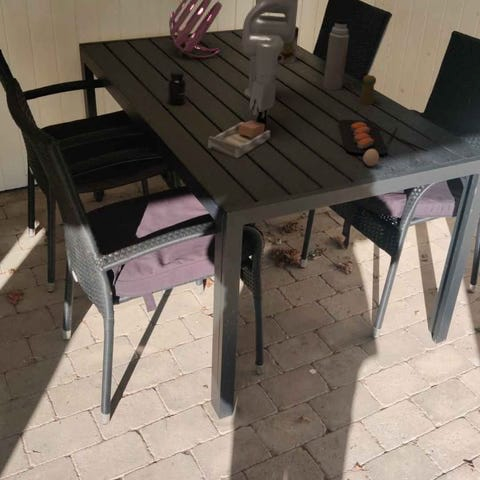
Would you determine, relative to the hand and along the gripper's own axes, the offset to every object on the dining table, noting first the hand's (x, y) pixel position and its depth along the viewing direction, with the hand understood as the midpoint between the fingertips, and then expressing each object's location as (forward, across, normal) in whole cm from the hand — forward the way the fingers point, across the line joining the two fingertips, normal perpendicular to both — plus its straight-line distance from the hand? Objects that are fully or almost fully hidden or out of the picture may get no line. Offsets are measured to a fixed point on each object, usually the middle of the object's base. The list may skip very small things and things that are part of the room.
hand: (261, 126), depth 240 cm
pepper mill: (+2, -53, +17) cm, 56 cm away
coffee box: (+2, -76, -35) cm, 83 cm away
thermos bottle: (+2, -60, -2) cm, 61 cm away
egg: (+2, 0, +43) cm, 43 cm away
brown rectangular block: (+1, +6, 0) cm, 7 cm away
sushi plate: (+3, -22, +38) cm, 44 cm away
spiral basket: (+2, -56, -72) cm, 91 cm away
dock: (+2, +14, 0) cm, 14 cm away
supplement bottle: (+2, -2, -40) cm, 40 cm away
